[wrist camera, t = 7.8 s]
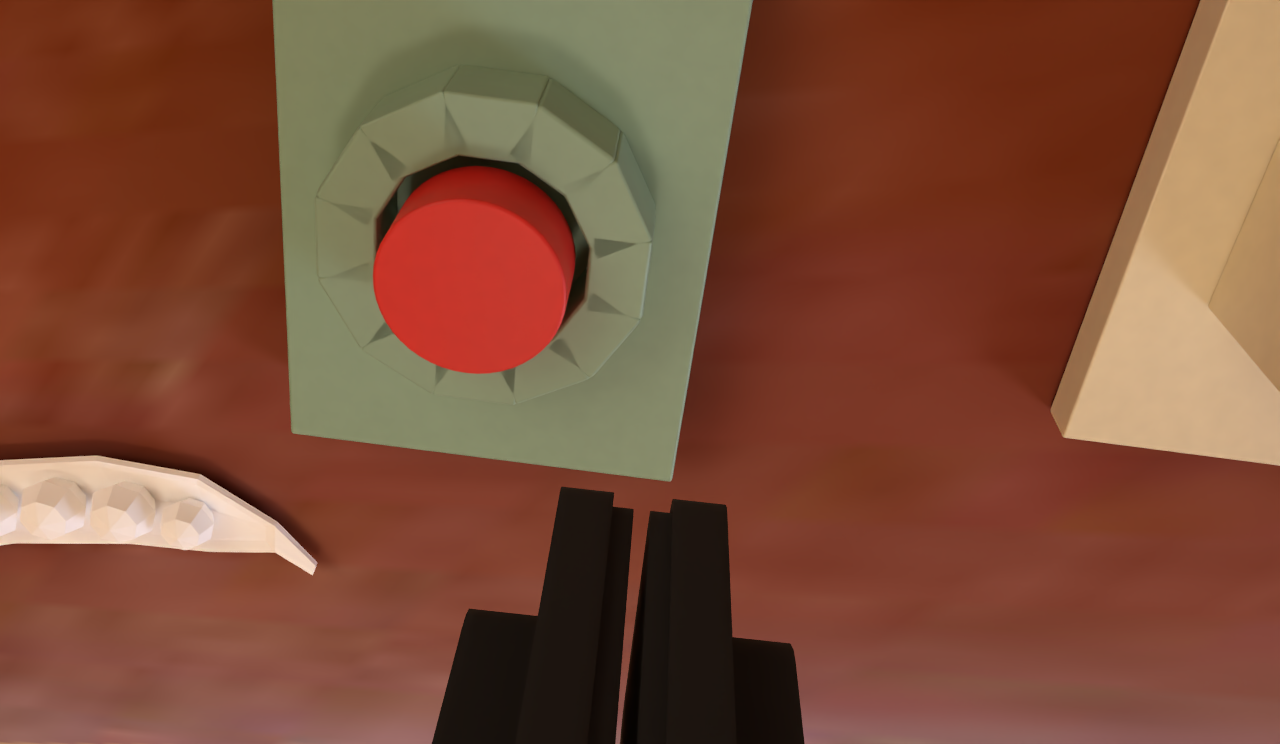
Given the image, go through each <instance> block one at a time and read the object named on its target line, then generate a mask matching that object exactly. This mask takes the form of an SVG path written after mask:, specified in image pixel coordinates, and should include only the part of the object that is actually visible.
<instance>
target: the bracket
mask: <svg viewBox="0 0 1280 744" xmlns="http://www.w3.org/2000/svg"><path fill="white" fill-rule="evenodd" d="M1050 411H1051V414H1052V416H1053V418H1054V420H1055V422H1056V424H1057V426H1058V428H1059V430H1060V432H1061V434H1062V436H1063V437H1064V438H1071V439H1079V440H1087V441H1094V442H1102V443H1110V444H1118V445H1125V446H1133V447H1141V448H1149V449H1156V450H1164V451H1172V452H1179V453H1187V454H1195V455H1203V456H1210V457H1218V458H1226V459H1233V460H1241V461H1249V462H1257V463H1264V464H1272V465H1280V0H1200V3H1199V6H1198V8H1197V11H1196V14H1195V17H1194V19H1193V22H1192V25H1191V28H1190V30H1189V33H1188V36H1187V39H1186V41H1185V44H1184V47H1183V49H1182V52H1181V55H1180V58H1179V60H1178V63H1177V66H1176V69H1175V71H1174V74H1173V77H1172V79H1171V82H1170V85H1169V88H1168V90H1167V93H1166V96H1165V99H1164V101H1163V104H1162V107H1161V110H1160V112H1159V115H1158V118H1157V120H1156V123H1155V126H1154V129H1153V131H1152V134H1151V137H1150V140H1149V142H1148V145H1147V148H1146V150H1145V153H1144V156H1143V159H1142V161H1141V164H1140V167H1139V170H1138V172H1137V175H1136V178H1135V180H1134V183H1133V186H1132V189H1131V191H1130V194H1129V197H1128V200H1127V202H1126V205H1125V208H1124V211H1123V213H1122V216H1121V219H1120V221H1119V224H1118V227H1117V230H1116V232H1115V235H1114V238H1113V241H1112V243H1111V246H1110V249H1109V251H1108V254H1107V257H1106V260H1105V262H1104V265H1103V268H1102V271H1101V273H1100V276H1099V279H1098V282H1097V284H1096V287H1095V290H1094V292H1093V295H1092V298H1091V301H1090V303H1089V306H1088V309H1087V312H1086V314H1085V317H1084V320H1083V322H1082V325H1081V328H1080V331H1079V333H1078V336H1077V339H1076V342H1075V344H1074V347H1073V350H1072V352H1071V355H1070V358H1069V361H1068V363H1067V366H1066V369H1065V372H1064V374H1063V377H1062V380H1061V383H1060V385H1059V388H1058V391H1057V393H1056V396H1055V399H1054V402H1053V404H1052V407H1051V410H1050Z"/></svg>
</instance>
